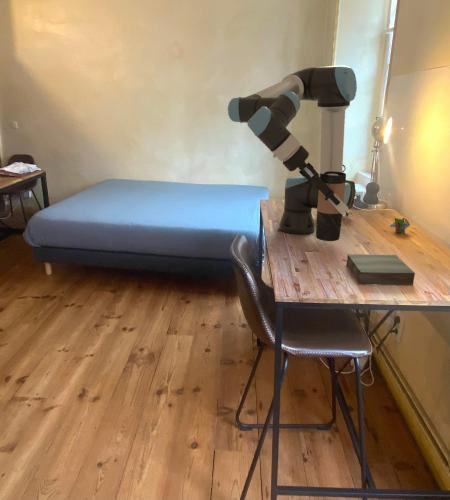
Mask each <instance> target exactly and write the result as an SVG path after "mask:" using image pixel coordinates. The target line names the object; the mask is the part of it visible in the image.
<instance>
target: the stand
mask: <svg viewBox="0 0 450 500" xmlns="http://www.w3.org/2000/svg"><path fill="white" fill-rule="evenodd" d="M346 267H347V268H348V270H349V271H350V272H351V274H352V275H354V276H353V277H354V279H355V278H356V279H355V280H356V282H357V283H358V285H360V284H361V286H362V285H366V284H381V285H382V286H414V281H415V275H416V273H415V271H414V270H413V269H412V268H410V267H409V265H407V264H406V263H405V262H404V261H403V260H402V259H401V258H400V257H399V256H398V255H397V254H358V253H357V254H356V253H355V254H347V258H346ZM381 285H380V286H381Z"/></svg>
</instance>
